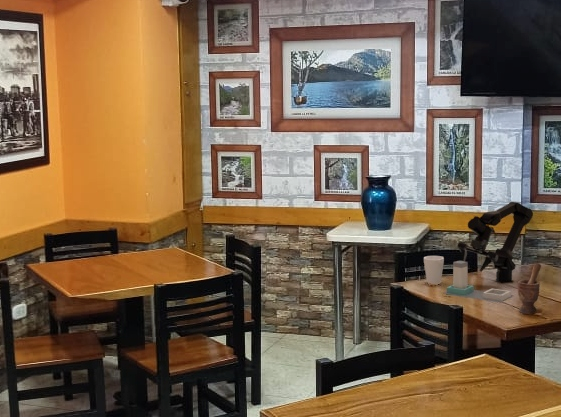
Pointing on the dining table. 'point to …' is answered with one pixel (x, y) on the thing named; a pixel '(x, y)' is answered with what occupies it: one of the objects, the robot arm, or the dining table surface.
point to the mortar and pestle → (529, 291)
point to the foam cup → (433, 268)
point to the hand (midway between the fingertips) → (471, 268)
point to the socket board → (480, 293)
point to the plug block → (460, 274)
